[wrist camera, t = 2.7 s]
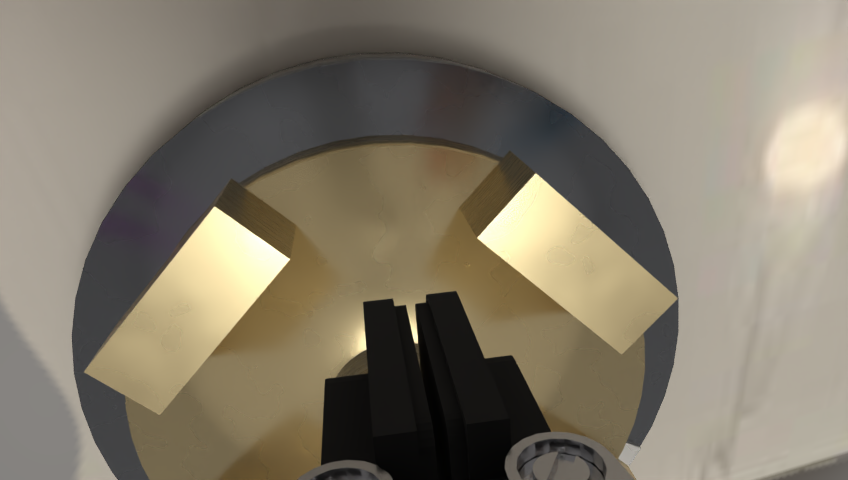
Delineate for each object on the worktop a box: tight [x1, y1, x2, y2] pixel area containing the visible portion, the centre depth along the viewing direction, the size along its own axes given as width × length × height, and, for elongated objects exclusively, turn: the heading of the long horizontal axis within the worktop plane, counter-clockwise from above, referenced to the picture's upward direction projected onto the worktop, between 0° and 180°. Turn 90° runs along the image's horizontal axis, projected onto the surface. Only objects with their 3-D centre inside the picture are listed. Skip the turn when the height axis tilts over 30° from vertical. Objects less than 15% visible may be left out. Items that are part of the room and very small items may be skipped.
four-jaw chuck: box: [84, 135, 678, 480], centre depth 24 cm, size 19×19×5 cm
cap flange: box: [72, 53, 678, 480], centre depth 27 cm, size 24×24×3 cm
